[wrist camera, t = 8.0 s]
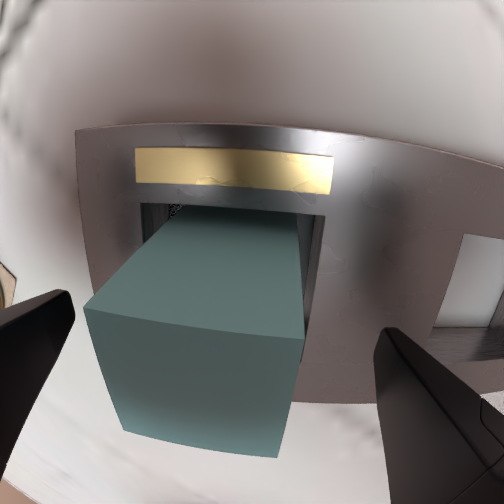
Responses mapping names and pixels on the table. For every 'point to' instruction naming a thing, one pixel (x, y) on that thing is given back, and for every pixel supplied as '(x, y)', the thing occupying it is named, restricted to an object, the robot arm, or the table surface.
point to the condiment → (6, 288)
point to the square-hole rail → (314, 231)
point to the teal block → (205, 330)
